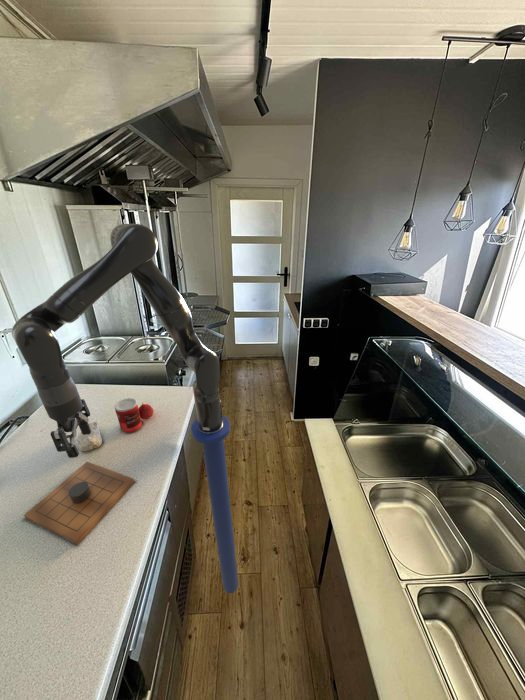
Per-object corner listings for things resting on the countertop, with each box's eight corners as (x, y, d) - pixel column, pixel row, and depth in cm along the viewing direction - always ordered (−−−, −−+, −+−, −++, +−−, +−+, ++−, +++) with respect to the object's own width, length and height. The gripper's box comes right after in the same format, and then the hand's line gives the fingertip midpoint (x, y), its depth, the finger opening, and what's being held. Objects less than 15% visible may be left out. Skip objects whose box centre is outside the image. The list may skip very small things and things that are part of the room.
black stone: (82, 486, 87) (79, 479, 85) (94, 491, 85) (92, 484, 84) (67, 500, 82) (64, 493, 81) (80, 506, 81) (76, 499, 80)
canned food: (127, 419, 117) (121, 397, 112) (146, 420, 116) (140, 398, 111) (117, 432, 110) (109, 409, 105) (136, 433, 109) (130, 410, 104)
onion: (157, 415, 119) (153, 399, 115) (150, 424, 114) (146, 408, 110) (144, 413, 120) (140, 398, 116) (136, 422, 114) (132, 406, 111)
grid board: (88, 464, 96) (86, 461, 95) (134, 482, 90) (133, 478, 89) (25, 518, 79) (23, 515, 79) (77, 545, 73) (75, 541, 72)
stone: (80, 459, 103) (73, 449, 95) (78, 428, 109) (71, 416, 101) (104, 452, 106) (98, 442, 98) (101, 422, 112) (95, 410, 104)
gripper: (63, 412, 65) (85, 463, 72) (87, 379, 78) (104, 425, 85) (27, 416, 64) (53, 467, 71) (57, 382, 77) (77, 428, 84)
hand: (81, 444), depth 78 cm, fingers open, 8 cm apart
